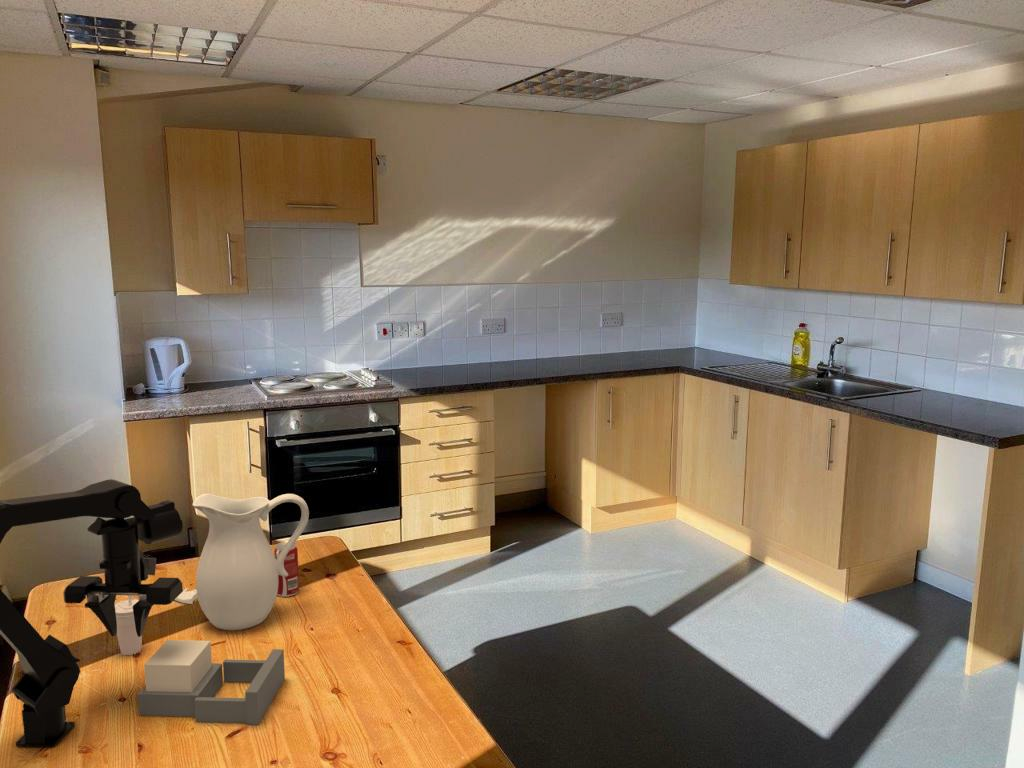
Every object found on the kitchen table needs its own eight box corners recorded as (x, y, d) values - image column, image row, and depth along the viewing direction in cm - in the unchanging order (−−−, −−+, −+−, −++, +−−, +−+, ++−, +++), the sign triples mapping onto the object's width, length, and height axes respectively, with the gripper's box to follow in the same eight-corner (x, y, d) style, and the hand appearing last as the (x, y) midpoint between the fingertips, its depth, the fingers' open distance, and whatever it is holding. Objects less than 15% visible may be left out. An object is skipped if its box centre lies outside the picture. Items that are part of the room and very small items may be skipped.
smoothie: (135, 660, 160) (130, 593, 158) (106, 657, 161) (101, 590, 159) (155, 645, 166) (150, 580, 164) (127, 642, 168) (122, 577, 165)
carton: (191, 692, 142) (190, 665, 141) (146, 691, 142) (144, 664, 141) (211, 666, 150) (210, 640, 150) (168, 665, 151) (167, 639, 150)
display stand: (258, 724, 139) (256, 692, 138) (133, 722, 139) (131, 689, 138) (284, 679, 154) (283, 649, 153) (172, 676, 154) (170, 647, 153)
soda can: (274, 590, 193) (272, 542, 191) (296, 587, 195) (295, 539, 193) (278, 599, 188) (276, 549, 187) (300, 595, 191) (299, 546, 189)
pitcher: (194, 641, 168) (186, 511, 163) (202, 607, 184) (195, 488, 180) (313, 628, 174) (309, 503, 170) (311, 596, 190) (307, 481, 186)
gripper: (192, 536, 150) (197, 616, 153) (92, 535, 151) (99, 614, 153) (166, 559, 139) (171, 644, 142) (58, 557, 140) (65, 642, 142)
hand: (127, 635), depth 145 cm, fingers open, 4 cm apart
